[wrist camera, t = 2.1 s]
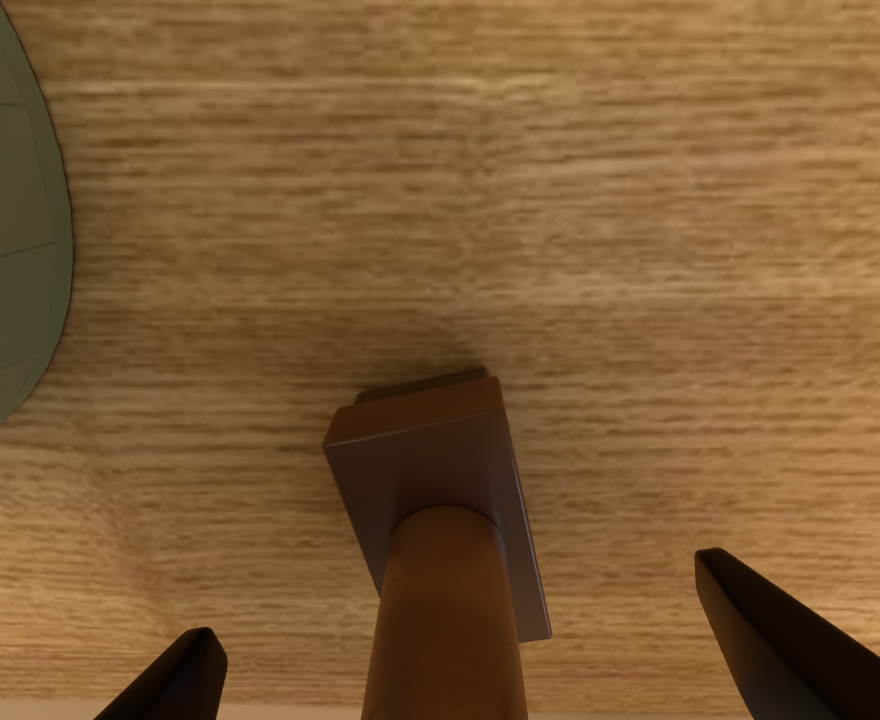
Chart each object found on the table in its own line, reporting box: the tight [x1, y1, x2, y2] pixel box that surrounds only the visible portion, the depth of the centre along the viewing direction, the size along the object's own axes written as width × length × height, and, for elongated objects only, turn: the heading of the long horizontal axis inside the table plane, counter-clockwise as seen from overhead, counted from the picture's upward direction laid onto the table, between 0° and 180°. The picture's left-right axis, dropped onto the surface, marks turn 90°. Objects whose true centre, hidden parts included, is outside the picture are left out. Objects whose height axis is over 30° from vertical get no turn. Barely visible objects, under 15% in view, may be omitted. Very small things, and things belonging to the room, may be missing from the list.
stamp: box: [322, 368, 552, 720], centre depth 9 cm, size 6×4×7 cm, turn 13°
